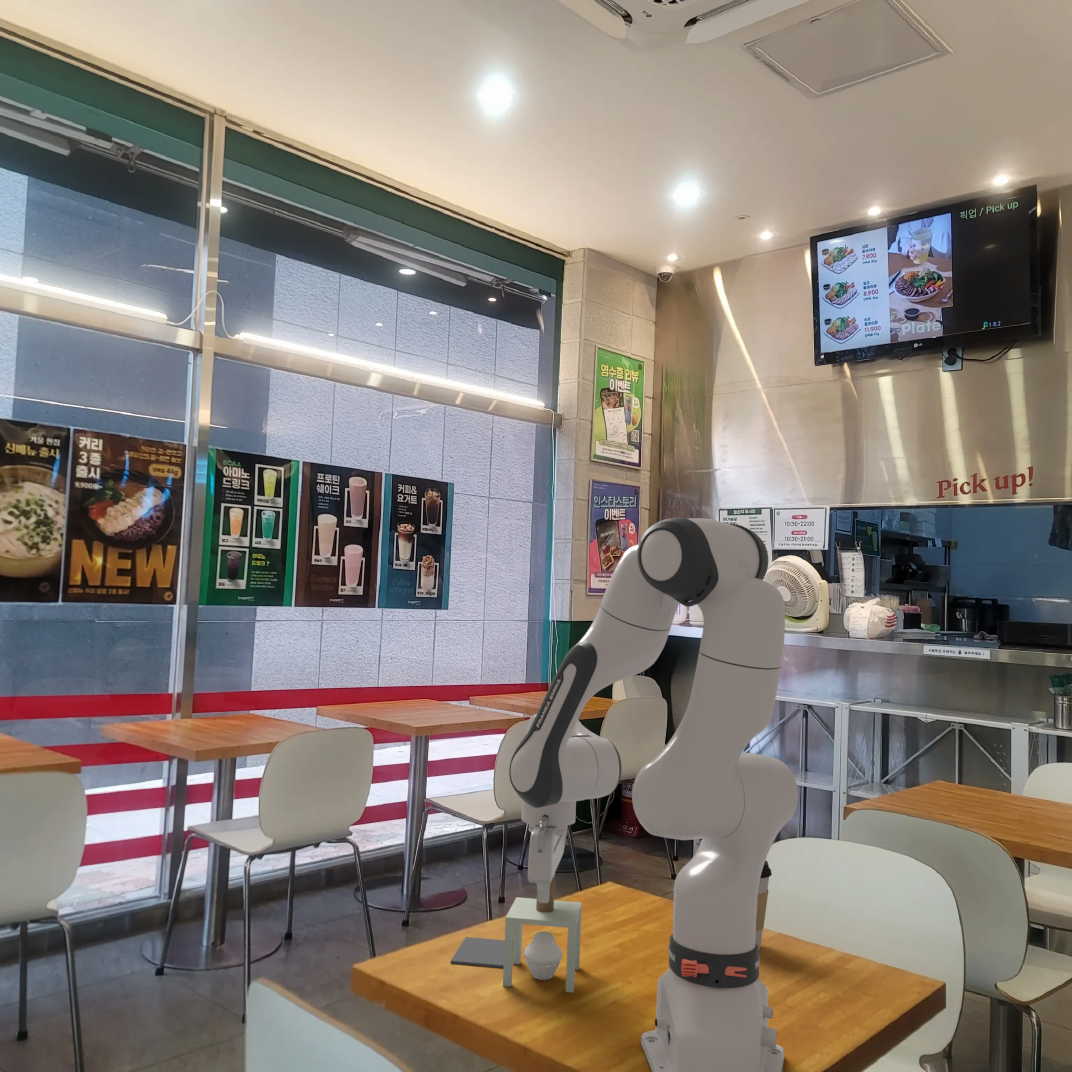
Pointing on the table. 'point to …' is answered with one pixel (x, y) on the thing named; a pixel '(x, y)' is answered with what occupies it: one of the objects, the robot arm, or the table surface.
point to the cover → (545, 916)
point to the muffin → (543, 956)
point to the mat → (480, 952)
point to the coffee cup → (762, 902)
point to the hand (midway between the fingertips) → (545, 898)
